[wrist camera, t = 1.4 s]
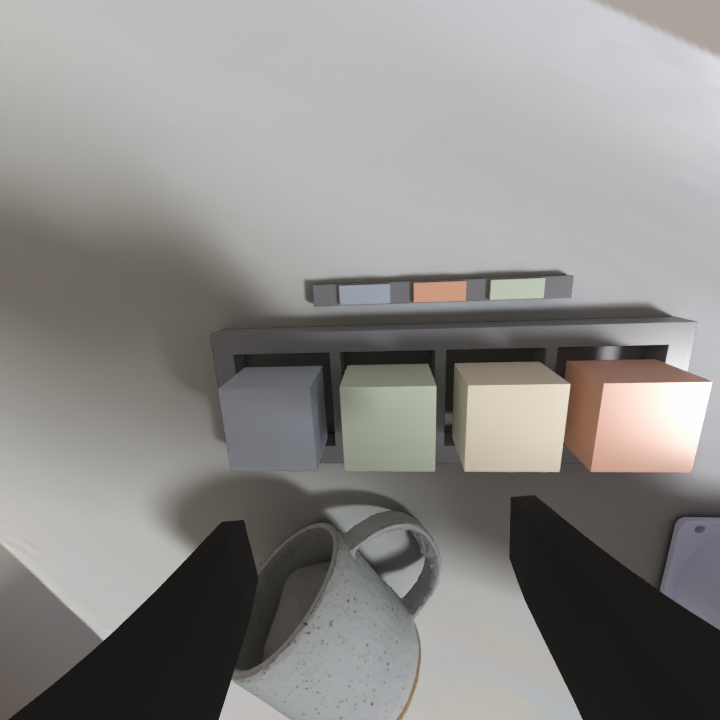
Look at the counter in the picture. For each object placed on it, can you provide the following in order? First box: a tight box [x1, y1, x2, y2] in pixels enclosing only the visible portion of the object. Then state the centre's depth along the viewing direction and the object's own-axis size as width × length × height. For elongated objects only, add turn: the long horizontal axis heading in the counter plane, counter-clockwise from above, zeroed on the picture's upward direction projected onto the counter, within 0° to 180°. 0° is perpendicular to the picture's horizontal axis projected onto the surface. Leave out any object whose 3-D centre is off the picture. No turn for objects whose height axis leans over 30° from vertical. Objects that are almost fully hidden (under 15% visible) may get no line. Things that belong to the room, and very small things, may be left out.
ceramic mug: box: [232, 511, 441, 720], centre depth 19 cm, size 11×8×8 cm
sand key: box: [452, 361, 571, 472], centre depth 16 cm, size 4×4×3 cm
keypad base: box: [210, 316, 698, 464], centre depth 18 cm, size 22×7×1 cm, turn 92°
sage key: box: [340, 364, 437, 472], centre depth 16 cm, size 4×4×3 cm
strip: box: [313, 275, 573, 306], centre depth 17 cm, size 12×1×1 cm, turn 92°
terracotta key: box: [563, 359, 712, 472], centre depth 16 cm, size 4×4×3 cm
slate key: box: [218, 366, 328, 471], centre depth 17 cm, size 4×4×3 cm
